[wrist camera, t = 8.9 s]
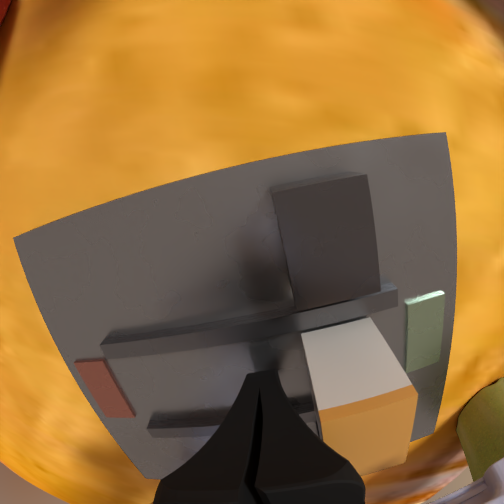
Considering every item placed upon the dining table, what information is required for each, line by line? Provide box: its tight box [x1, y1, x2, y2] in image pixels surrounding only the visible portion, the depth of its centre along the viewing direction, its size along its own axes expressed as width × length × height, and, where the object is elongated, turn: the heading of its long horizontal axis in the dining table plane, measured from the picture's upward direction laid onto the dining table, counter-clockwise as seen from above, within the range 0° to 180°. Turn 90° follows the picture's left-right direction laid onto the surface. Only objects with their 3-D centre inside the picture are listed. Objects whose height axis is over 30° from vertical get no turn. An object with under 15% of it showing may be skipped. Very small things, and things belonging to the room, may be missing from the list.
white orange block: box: [301, 317, 418, 476], centre depth 11 cm, size 3×4×5 cm
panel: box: [13, 132, 457, 479], centre depth 13 cm, size 20×18×4 cm
